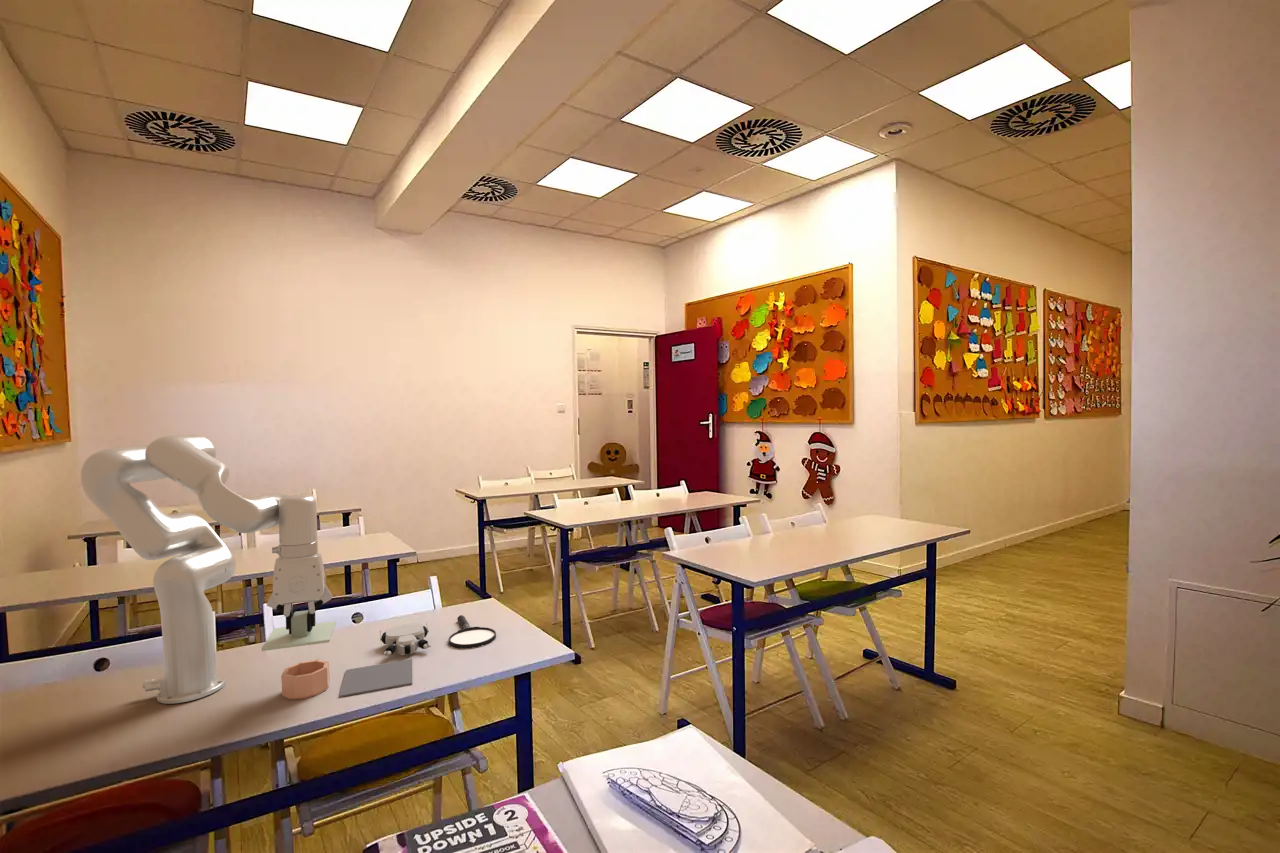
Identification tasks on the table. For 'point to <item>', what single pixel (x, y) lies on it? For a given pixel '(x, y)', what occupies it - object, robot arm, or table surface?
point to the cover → (299, 633)
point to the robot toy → (405, 639)
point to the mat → (377, 677)
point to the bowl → (305, 679)
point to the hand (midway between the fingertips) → (301, 630)
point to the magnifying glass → (471, 635)
